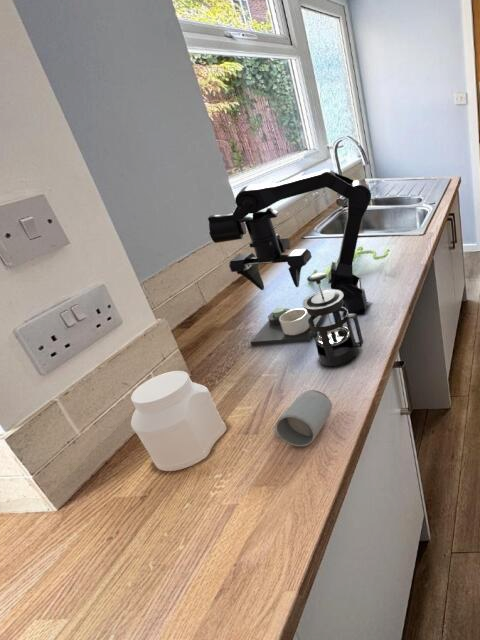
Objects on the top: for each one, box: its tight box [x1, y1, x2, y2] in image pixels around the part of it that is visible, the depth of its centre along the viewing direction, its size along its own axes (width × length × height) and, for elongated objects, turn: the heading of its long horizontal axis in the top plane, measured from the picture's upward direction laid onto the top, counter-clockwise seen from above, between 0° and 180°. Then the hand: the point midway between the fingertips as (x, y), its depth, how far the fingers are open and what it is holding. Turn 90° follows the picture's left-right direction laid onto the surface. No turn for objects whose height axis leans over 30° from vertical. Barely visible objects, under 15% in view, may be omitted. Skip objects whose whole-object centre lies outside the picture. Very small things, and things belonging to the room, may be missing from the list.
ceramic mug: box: [272, 389, 333, 447], centre depth 79 cm, size 11×8×8 cm
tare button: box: [272, 306, 286, 318], centre depth 115 cm, size 3×3×2 cm
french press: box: [302, 272, 364, 370], centre depth 97 cm, size 12×9×23 cm
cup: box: [279, 307, 309, 335], centre depth 110 cm, size 7×7×4 cm
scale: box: [250, 308, 327, 347], centre depth 113 cm, size 15×14×3 cm
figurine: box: [311, 246, 391, 280], centre depth 144 cm, size 18×27×6 cm
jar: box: [130, 370, 227, 472], centre depth 76 cm, size 12×10×15 cm
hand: (280, 288), depth 110 cm, fingers open, 9 cm apart
